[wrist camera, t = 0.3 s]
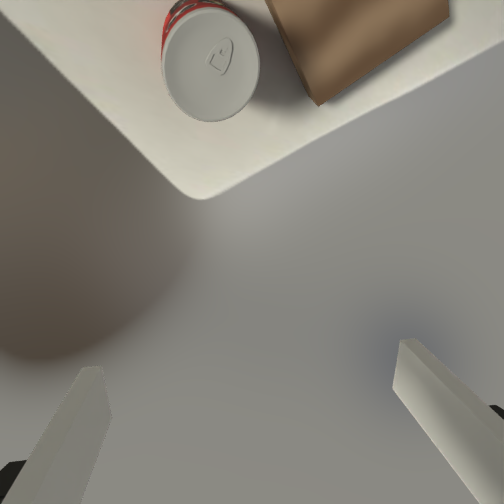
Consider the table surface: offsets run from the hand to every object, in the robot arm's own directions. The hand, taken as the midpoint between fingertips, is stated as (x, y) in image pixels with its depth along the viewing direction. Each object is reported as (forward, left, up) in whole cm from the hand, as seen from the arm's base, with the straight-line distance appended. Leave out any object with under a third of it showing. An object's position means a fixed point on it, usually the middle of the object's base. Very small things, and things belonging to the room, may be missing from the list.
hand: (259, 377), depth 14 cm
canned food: (-5, +4, -33) cm, 33 cm away
